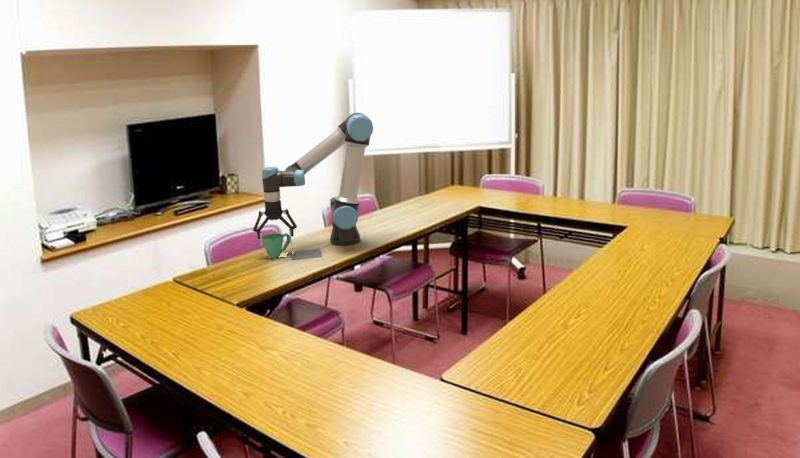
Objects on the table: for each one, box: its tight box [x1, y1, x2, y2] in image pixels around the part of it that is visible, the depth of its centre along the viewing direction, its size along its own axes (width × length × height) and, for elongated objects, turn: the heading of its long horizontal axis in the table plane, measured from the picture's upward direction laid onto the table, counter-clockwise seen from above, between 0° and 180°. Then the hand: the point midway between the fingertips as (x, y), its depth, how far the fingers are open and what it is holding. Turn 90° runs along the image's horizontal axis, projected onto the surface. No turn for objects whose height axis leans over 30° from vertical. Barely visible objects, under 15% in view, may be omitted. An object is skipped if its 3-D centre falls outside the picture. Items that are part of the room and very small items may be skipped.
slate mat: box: [290, 248, 323, 261], centre depth 324 cm, size 14×14×1 cm
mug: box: [262, 232, 290, 259], centre depth 323 cm, size 15×10×10 cm
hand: (276, 244), depth 323 cm, fingers open, 13 cm apart
